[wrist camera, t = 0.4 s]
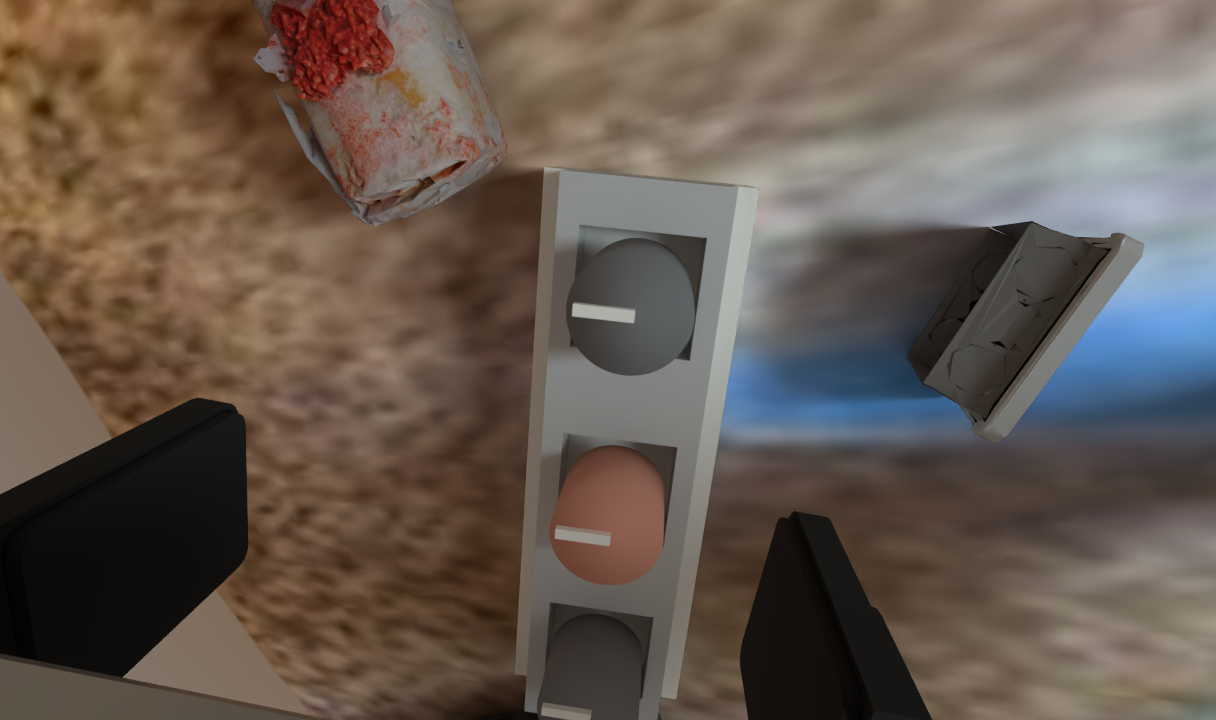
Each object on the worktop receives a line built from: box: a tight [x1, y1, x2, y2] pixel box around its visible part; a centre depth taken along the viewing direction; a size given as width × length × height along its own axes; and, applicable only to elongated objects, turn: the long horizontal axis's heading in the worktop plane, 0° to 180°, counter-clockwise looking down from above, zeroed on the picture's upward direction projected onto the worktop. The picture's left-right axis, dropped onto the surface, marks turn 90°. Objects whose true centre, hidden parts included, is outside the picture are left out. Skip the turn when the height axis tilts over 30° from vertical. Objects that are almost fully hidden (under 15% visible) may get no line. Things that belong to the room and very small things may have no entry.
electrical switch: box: [907, 221, 1144, 443], centre depth 28 cm, size 9×5×9 cm, turn 156°
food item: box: [251, 0, 507, 227], centre depth 27 cm, size 14×8×10 cm, turn 23°
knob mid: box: [550, 445, 665, 585], centre depth 29 cm, size 5×5×4 cm
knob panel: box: [515, 167, 759, 720], centre depth 34 cm, size 10×30×6 cm, turn 175°
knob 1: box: [566, 238, 695, 376], centre depth 26 cm, size 5×5×4 cm
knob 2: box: [537, 614, 643, 720], centre depth 32 cm, size 5×5×4 cm
